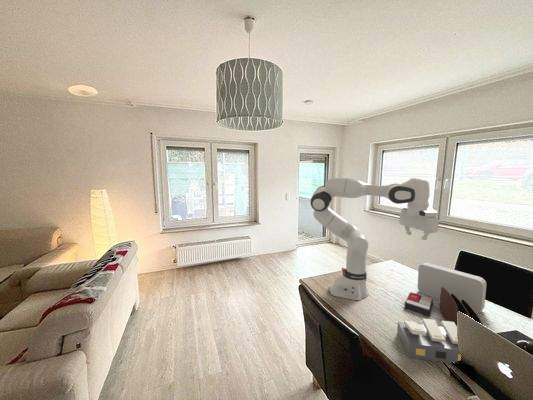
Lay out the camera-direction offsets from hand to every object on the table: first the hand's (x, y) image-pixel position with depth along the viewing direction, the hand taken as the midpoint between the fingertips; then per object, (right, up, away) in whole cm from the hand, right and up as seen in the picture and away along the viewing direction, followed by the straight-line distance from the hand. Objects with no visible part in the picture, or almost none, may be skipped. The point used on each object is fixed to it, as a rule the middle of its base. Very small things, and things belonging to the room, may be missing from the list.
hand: (416, 236), depth 112 cm
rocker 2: (-8, -35, -22) cm, 42 cm away
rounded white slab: (+26, -38, +12) cm, 48 cm away
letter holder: (+16, -41, -6) cm, 44 cm away
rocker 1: (-15, -35, -20) cm, 43 cm away
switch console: (-8, -43, -21) cm, 49 cm away
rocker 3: (-1, -35, -24) cm, 42 cm away
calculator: (+7, -40, +8) cm, 41 cm away
